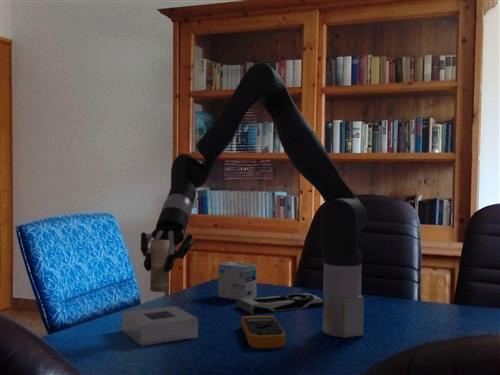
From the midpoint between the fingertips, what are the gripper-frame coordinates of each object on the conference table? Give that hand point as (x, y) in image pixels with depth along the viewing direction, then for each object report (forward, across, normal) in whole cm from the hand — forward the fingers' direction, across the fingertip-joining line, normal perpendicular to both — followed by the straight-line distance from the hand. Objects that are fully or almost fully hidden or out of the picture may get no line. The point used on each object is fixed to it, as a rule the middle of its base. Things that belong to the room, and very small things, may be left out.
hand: (156, 269), depth 131 cm
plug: (+2, 0, +5) cm, 6 cm away
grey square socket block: (+10, 0, +13) cm, 16 cm away
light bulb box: (-21, +9, +44) cm, 49 cm away
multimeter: (+7, +25, +16) cm, 30 cm away
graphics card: (-14, +24, +38) cm, 47 cm away
